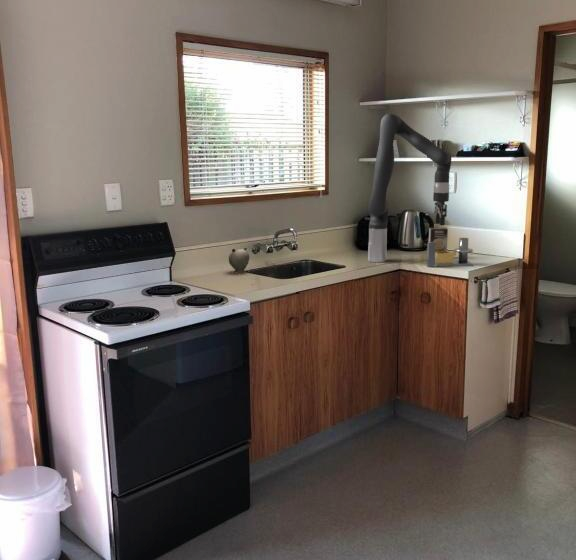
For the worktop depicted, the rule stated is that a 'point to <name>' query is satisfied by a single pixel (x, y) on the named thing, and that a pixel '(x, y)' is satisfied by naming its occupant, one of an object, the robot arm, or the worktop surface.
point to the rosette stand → (447, 257)
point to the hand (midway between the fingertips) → (439, 224)
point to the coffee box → (439, 238)
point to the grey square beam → (431, 254)
